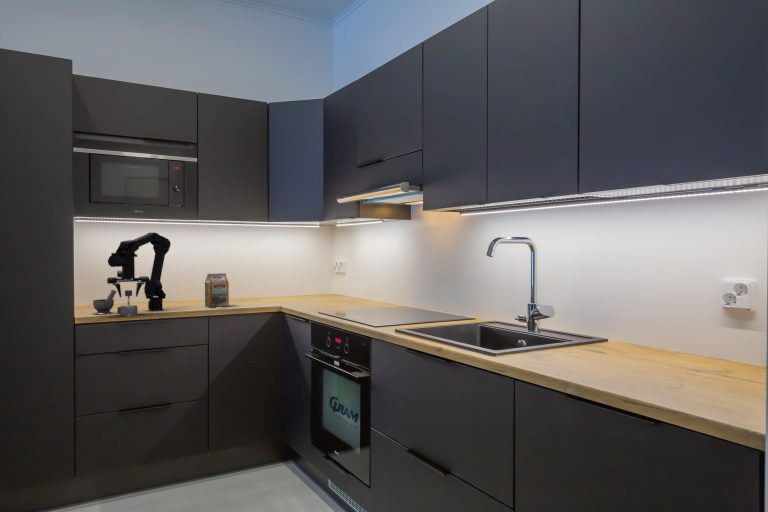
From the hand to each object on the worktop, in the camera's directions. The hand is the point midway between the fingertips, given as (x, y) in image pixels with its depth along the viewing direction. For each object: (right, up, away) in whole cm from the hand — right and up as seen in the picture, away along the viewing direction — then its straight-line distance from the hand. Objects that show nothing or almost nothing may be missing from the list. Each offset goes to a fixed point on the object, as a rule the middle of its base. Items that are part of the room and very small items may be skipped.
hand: (128, 297), depth 261 cm
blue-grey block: (0, -9, 0) cm, 9 cm away
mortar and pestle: (-15, -9, +6) cm, 18 cm away
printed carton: (+33, -9, +35) cm, 49 cm away
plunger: (0, -5, 0) cm, 5 cm away
